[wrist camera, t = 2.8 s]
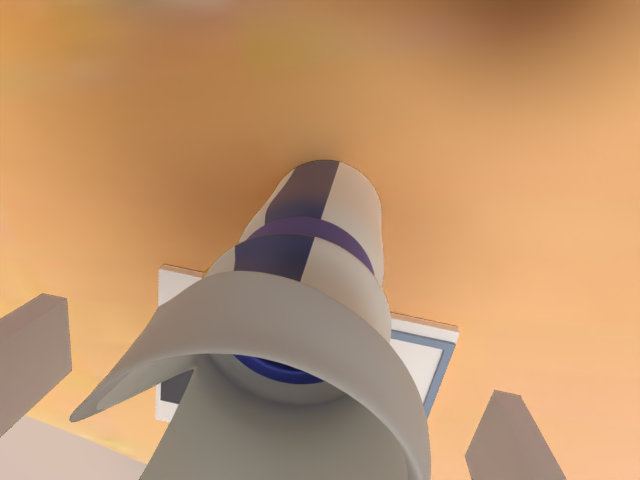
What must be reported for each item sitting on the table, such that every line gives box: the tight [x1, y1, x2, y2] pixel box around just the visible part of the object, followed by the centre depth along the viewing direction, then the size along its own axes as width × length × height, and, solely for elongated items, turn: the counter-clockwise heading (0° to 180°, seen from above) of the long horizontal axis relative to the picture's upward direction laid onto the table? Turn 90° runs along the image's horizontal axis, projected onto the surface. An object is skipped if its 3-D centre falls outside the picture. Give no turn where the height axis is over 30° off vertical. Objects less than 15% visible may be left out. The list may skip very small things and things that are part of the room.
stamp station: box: [155, 264, 460, 422], centre depth 30 cm, size 15×22×1 cm
